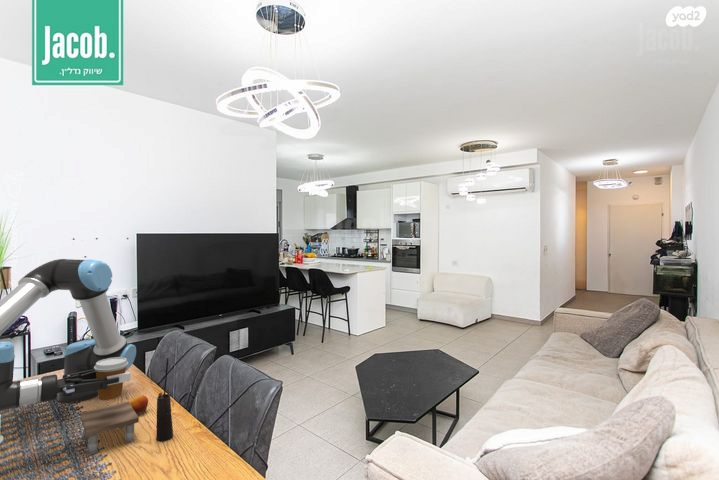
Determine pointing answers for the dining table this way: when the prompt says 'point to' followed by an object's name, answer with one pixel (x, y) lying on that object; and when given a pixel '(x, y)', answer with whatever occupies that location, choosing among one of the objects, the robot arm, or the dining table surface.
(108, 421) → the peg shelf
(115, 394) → the disposable coffee cup
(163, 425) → the butter churn
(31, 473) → the dining table surface
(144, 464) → the dining table surface
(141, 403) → the fruit
